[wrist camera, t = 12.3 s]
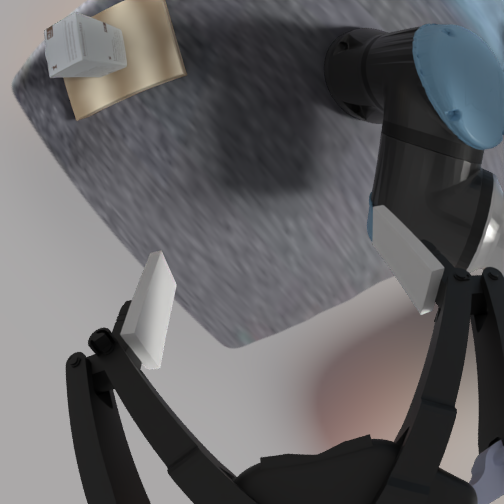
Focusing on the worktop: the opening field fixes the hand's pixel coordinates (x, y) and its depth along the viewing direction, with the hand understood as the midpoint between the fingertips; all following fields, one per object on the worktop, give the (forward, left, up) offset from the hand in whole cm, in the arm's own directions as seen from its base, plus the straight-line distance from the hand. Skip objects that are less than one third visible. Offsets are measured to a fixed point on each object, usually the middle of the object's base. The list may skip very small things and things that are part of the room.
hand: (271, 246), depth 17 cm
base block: (+13, -20, -26) cm, 36 cm away
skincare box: (+13, -20, -23) cm, 33 cm away
